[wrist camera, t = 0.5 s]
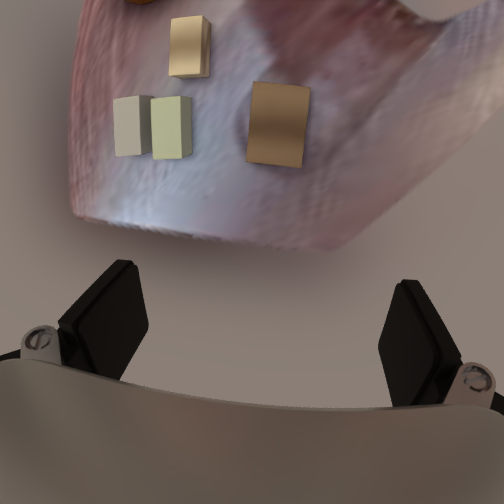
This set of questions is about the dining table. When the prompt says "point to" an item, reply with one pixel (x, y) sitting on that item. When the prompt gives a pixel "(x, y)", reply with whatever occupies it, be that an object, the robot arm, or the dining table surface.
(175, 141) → the sage brick
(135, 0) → the disposable coffee cup
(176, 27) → the beech brick
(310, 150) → the dining table surface
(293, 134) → the walnut base
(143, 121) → the grey brick
